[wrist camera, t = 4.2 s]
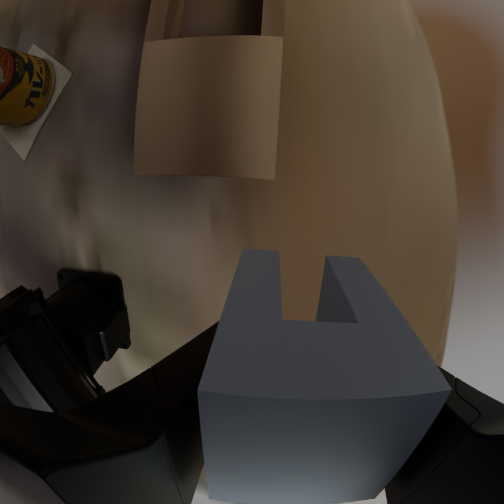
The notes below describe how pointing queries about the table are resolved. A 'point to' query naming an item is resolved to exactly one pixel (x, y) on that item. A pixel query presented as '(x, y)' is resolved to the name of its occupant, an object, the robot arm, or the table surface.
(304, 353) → the clip
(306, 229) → the table surface
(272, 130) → the brown slotted block
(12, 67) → the condiment
